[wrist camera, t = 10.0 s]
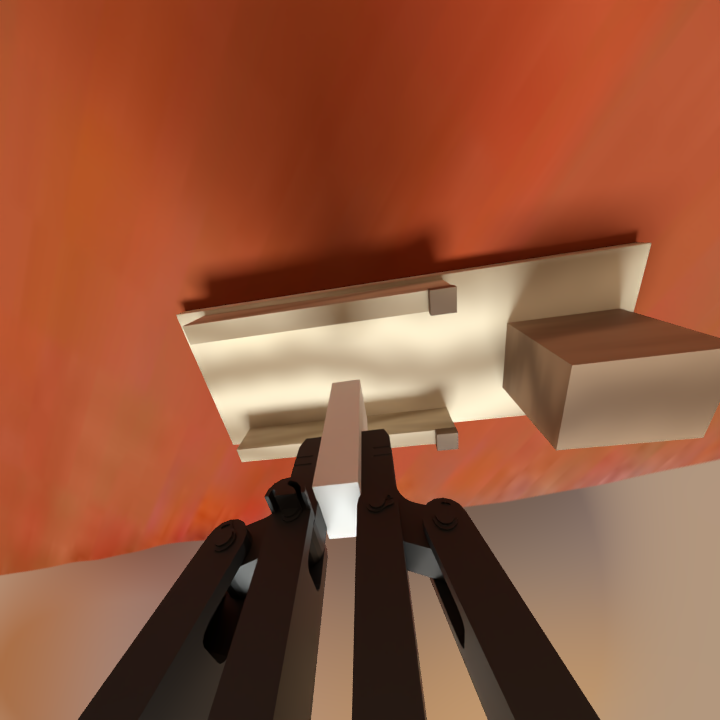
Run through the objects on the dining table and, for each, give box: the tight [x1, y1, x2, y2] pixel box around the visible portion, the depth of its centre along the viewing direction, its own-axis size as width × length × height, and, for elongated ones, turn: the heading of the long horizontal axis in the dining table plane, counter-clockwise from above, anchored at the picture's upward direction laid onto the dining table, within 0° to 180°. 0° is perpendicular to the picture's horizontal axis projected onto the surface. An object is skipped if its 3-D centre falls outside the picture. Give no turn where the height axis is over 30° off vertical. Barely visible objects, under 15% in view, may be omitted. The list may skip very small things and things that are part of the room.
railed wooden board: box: [176, 242, 651, 462], centre depth 19 cm, size 12×30×4 cm, turn 99°
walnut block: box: [502, 308, 720, 450], centre depth 16 cm, size 5×7×6 cm
